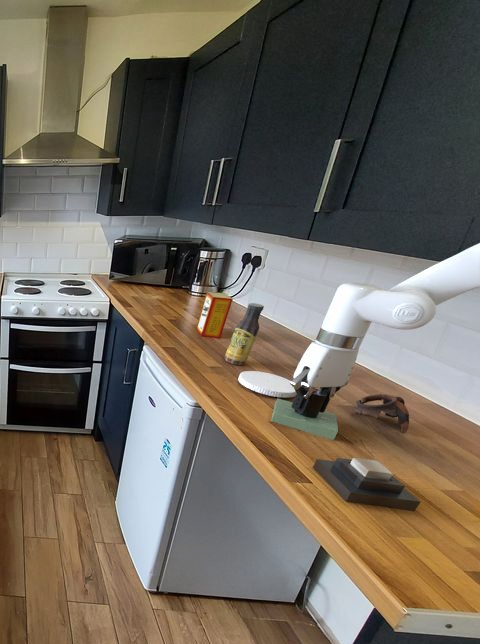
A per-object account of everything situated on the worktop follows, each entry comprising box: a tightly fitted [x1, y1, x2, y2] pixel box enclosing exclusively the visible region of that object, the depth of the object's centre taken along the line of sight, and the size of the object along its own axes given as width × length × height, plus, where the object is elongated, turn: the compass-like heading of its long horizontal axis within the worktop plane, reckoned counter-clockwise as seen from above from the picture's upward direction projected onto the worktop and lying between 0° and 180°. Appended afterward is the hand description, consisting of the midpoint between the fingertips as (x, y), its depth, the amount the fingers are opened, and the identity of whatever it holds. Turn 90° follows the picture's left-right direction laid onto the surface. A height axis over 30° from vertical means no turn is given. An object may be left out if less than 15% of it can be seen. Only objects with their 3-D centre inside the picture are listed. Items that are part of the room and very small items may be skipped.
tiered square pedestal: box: [312, 457, 421, 512], centre depth 76 cm, size 11×10×4 cm
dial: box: [295, 386, 327, 418], centre depth 96 cm, size 4×4×6 cm
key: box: [350, 457, 394, 480], centre depth 75 cm, size 4×4×2 cm
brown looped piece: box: [353, 393, 410, 434], centre depth 100 cm, size 12×9×8 cm
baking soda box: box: [195, 291, 234, 339], centre depth 157 cm, size 10×6×16 cm
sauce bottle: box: [224, 302, 265, 366], centre depth 129 cm, size 6×6×20 cm
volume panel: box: [270, 398, 339, 441], centre depth 98 cm, size 12×10×3 cm
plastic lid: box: [238, 370, 296, 399], centre depth 114 cm, size 14×14×2 cm
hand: (307, 409), depth 97 cm, fingers closed on dial, 4 cm apart
